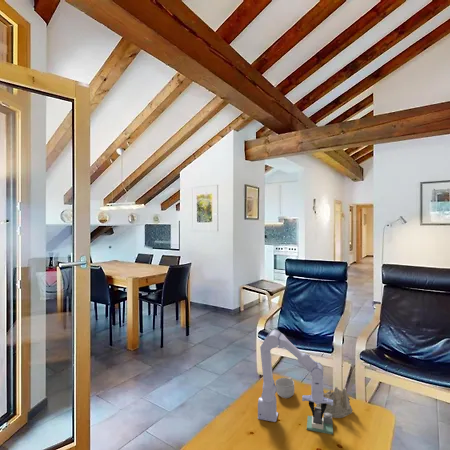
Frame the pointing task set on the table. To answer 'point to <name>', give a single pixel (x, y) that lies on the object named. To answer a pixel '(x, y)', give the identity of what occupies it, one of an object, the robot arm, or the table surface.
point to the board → (325, 424)
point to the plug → (317, 415)
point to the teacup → (285, 387)
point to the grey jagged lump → (337, 403)
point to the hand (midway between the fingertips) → (317, 417)
